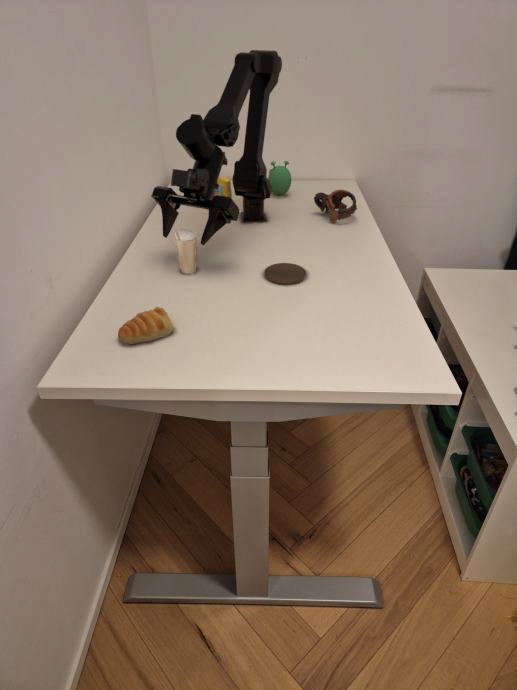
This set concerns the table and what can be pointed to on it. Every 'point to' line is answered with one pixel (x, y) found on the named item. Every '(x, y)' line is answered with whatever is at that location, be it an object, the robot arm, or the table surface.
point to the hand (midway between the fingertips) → (183, 240)
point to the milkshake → (186, 250)
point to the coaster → (285, 273)
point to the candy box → (223, 187)
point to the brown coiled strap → (336, 204)
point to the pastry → (146, 327)
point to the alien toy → (279, 178)
